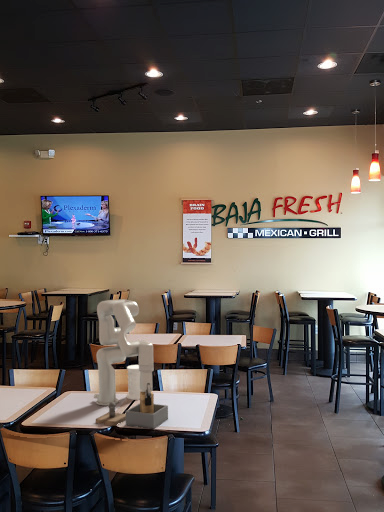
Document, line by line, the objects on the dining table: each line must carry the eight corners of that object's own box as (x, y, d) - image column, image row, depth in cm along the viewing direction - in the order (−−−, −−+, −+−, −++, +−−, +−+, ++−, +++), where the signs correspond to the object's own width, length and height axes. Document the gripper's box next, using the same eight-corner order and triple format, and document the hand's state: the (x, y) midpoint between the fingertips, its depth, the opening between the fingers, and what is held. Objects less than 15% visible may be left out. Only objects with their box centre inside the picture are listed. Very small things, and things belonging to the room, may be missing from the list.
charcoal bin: (125, 425, 242) (125, 411, 242) (141, 415, 256) (141, 402, 256) (153, 429, 236) (153, 414, 236) (168, 419, 250) (167, 405, 250)
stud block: (95, 423, 247) (95, 404, 247) (108, 415, 258) (108, 398, 258) (116, 425, 242) (115, 406, 242) (128, 418, 253) (128, 400, 253)
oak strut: (142, 421, 243) (142, 395, 242) (140, 416, 249) (139, 391, 248) (153, 419, 245) (153, 394, 244) (151, 415, 250) (151, 390, 250)
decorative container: (122, 398, 290) (122, 367, 290) (134, 393, 300) (133, 364, 300) (139, 400, 284) (138, 369, 284) (150, 395, 295) (149, 365, 295)
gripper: (135, 364, 254) (136, 399, 253) (142, 372, 237) (142, 409, 237) (150, 363, 256) (150, 398, 256) (157, 370, 239) (157, 407, 239)
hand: (146, 403), depth 246 cm, fingers open, 6 cm apart
